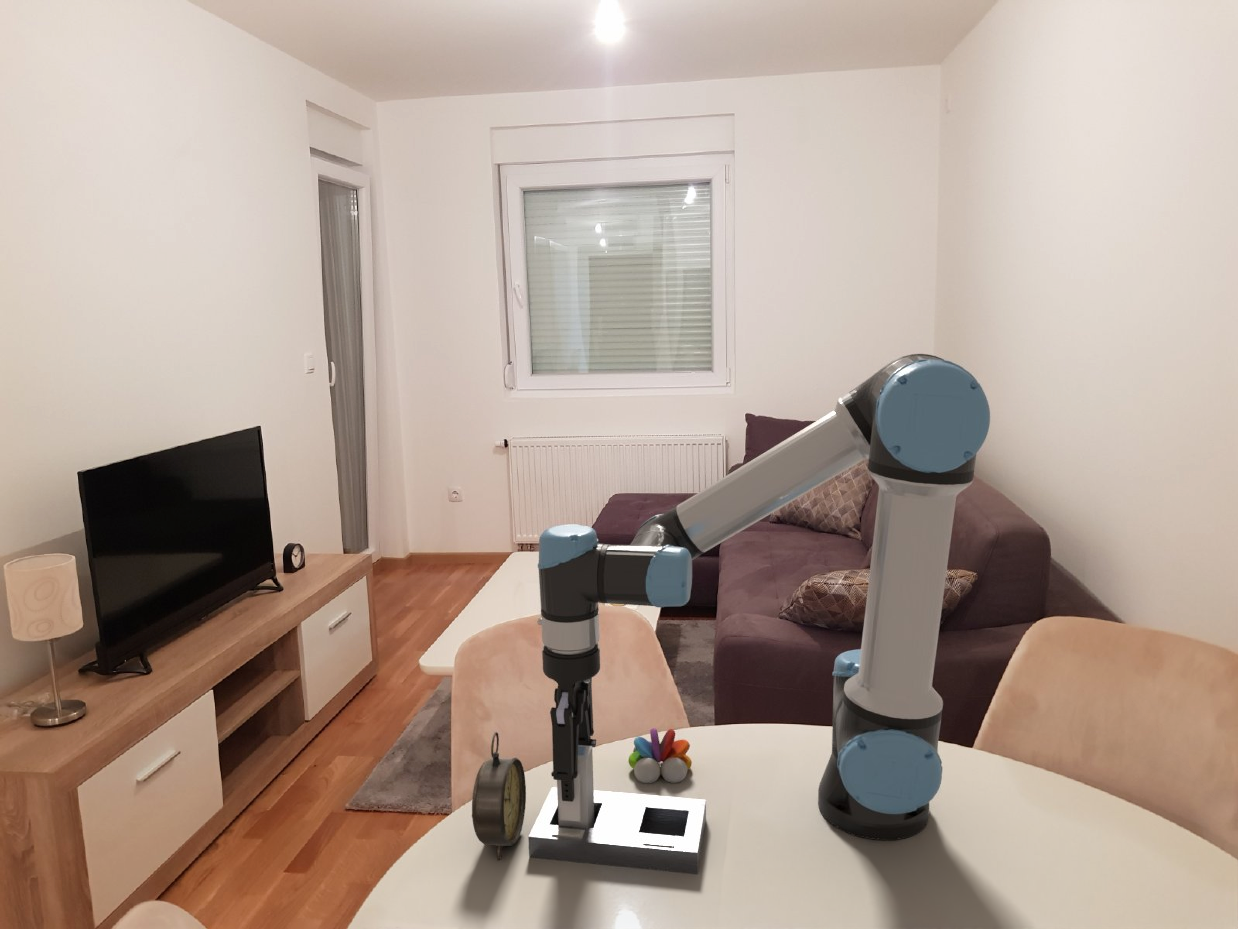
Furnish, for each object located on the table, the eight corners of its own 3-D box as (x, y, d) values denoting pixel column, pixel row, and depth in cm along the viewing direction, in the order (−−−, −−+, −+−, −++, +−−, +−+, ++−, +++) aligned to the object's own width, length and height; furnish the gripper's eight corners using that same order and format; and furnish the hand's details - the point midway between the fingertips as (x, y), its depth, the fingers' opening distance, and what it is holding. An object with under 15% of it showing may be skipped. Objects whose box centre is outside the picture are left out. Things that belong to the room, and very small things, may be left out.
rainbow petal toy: (693, 788, 132) (693, 743, 131) (628, 789, 132) (627, 744, 131) (689, 759, 141) (689, 716, 139) (628, 760, 141) (627, 717, 139)
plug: (594, 826, 122) (592, 742, 120) (588, 844, 118) (585, 757, 116) (566, 823, 123) (563, 740, 120) (559, 841, 119) (556, 754, 117)
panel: (706, 823, 123) (706, 798, 122) (697, 878, 112) (697, 851, 111) (553, 809, 127) (552, 785, 127) (529, 861, 116) (528, 835, 115)
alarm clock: (508, 871, 114) (502, 755, 111) (467, 868, 115) (461, 752, 112) (529, 822, 124) (525, 715, 121) (492, 819, 125) (487, 712, 122)
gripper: (560, 617, 125) (566, 767, 129) (522, 671, 107) (529, 844, 111) (612, 619, 124) (616, 771, 128) (582, 675, 106) (588, 850, 110)
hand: (576, 805), depth 120 cm, fingers open, 6 cm apart
